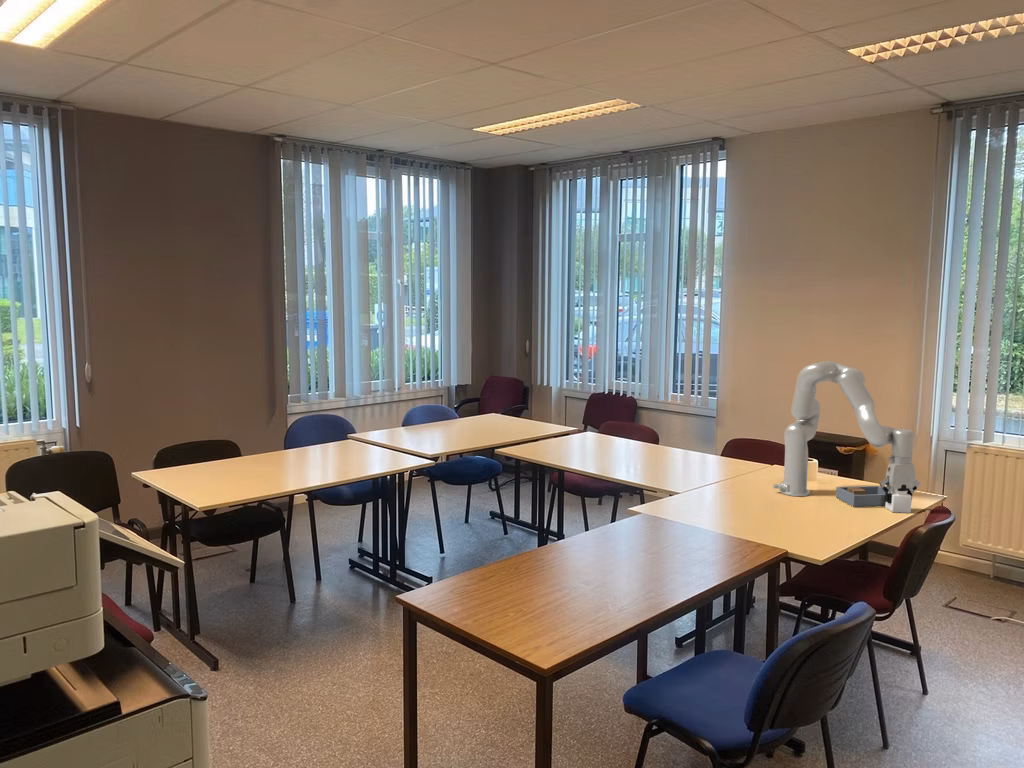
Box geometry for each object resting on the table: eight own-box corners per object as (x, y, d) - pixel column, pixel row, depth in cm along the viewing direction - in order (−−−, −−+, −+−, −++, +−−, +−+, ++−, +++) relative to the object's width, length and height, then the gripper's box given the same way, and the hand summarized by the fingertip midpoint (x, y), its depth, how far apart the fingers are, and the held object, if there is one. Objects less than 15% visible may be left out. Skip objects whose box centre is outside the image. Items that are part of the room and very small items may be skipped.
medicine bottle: (903, 508, 300) (905, 479, 299) (910, 513, 293) (912, 484, 292) (884, 507, 301) (886, 479, 299) (892, 512, 294) (894, 483, 292)
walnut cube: (864, 502, 306) (865, 490, 306) (853, 502, 306) (854, 490, 306) (858, 498, 311) (858, 487, 311) (847, 499, 311) (847, 487, 310)
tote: (853, 507, 301) (854, 495, 301) (835, 498, 315) (836, 487, 315) (897, 506, 303) (898, 494, 302) (877, 497, 317) (878, 486, 316)
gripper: (886, 462, 290) (883, 505, 292) (927, 461, 292) (924, 504, 294) (875, 458, 297) (872, 500, 300) (915, 457, 299) (912, 499, 301)
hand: (898, 502), depth 297 cm, fingers closed on medicine bottle, 7 cm apart
